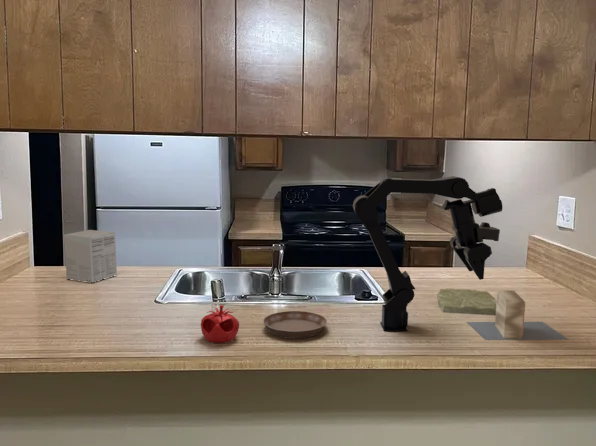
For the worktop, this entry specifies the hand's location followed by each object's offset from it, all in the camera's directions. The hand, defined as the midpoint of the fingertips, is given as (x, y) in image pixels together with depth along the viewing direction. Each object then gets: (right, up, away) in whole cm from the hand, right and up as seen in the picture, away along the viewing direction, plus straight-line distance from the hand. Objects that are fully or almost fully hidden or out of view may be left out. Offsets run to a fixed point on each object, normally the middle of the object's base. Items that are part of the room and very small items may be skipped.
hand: (476, 275), depth 144 cm
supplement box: (-128, -7, +55) cm, 140 cm away
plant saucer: (-50, -16, +1) cm, 53 cm away
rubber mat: (+11, -16, 0) cm, 19 cm away
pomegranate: (-70, -17, -7) cm, 72 cm away
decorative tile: (+5, -13, +24) cm, 28 cm away
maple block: (+8, -16, -1) cm, 18 cm away
